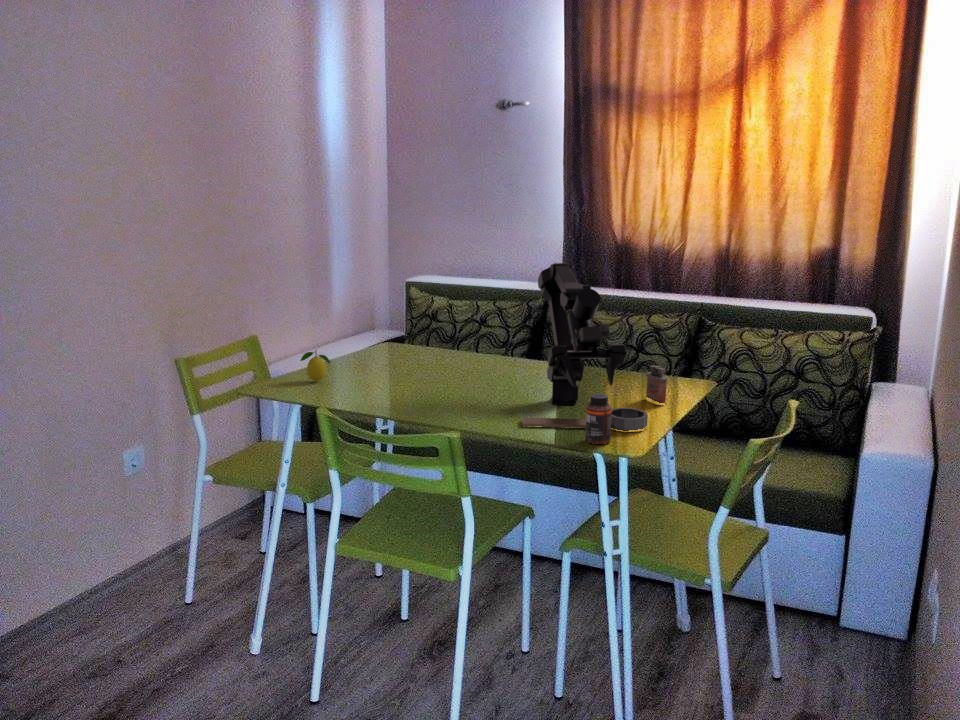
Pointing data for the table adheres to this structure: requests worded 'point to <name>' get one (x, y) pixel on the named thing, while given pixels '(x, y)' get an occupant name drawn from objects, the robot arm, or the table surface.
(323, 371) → the lemon
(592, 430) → the supplement bottle
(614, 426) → the cup bracket
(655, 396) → the lighter
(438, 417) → the table surface
